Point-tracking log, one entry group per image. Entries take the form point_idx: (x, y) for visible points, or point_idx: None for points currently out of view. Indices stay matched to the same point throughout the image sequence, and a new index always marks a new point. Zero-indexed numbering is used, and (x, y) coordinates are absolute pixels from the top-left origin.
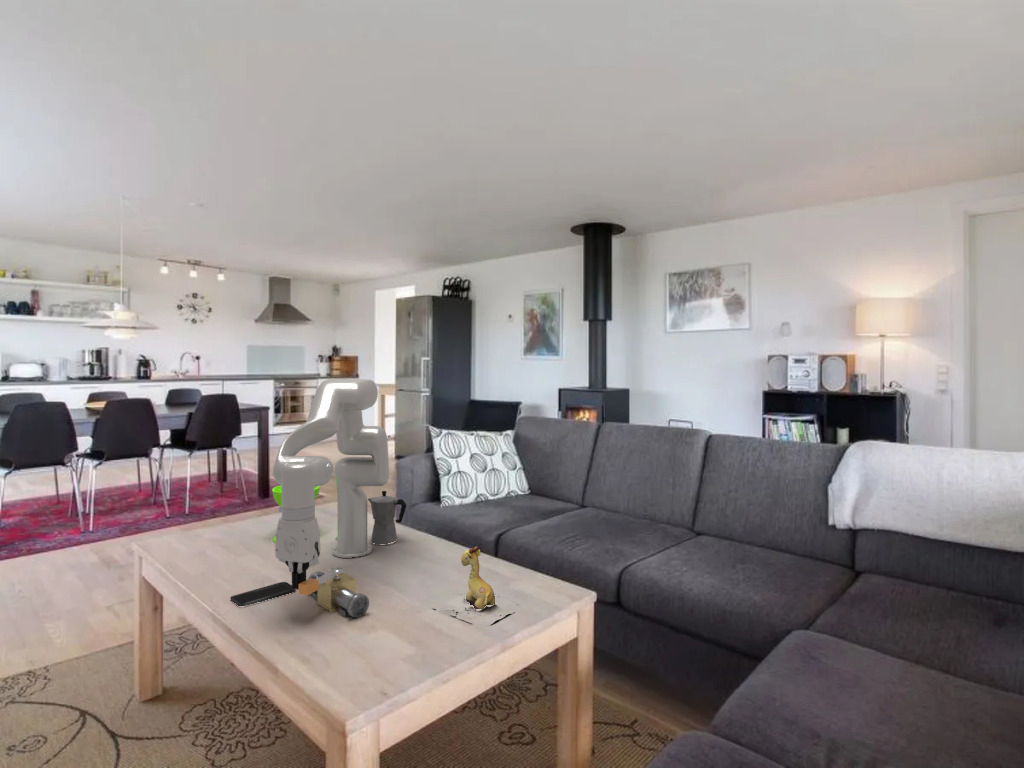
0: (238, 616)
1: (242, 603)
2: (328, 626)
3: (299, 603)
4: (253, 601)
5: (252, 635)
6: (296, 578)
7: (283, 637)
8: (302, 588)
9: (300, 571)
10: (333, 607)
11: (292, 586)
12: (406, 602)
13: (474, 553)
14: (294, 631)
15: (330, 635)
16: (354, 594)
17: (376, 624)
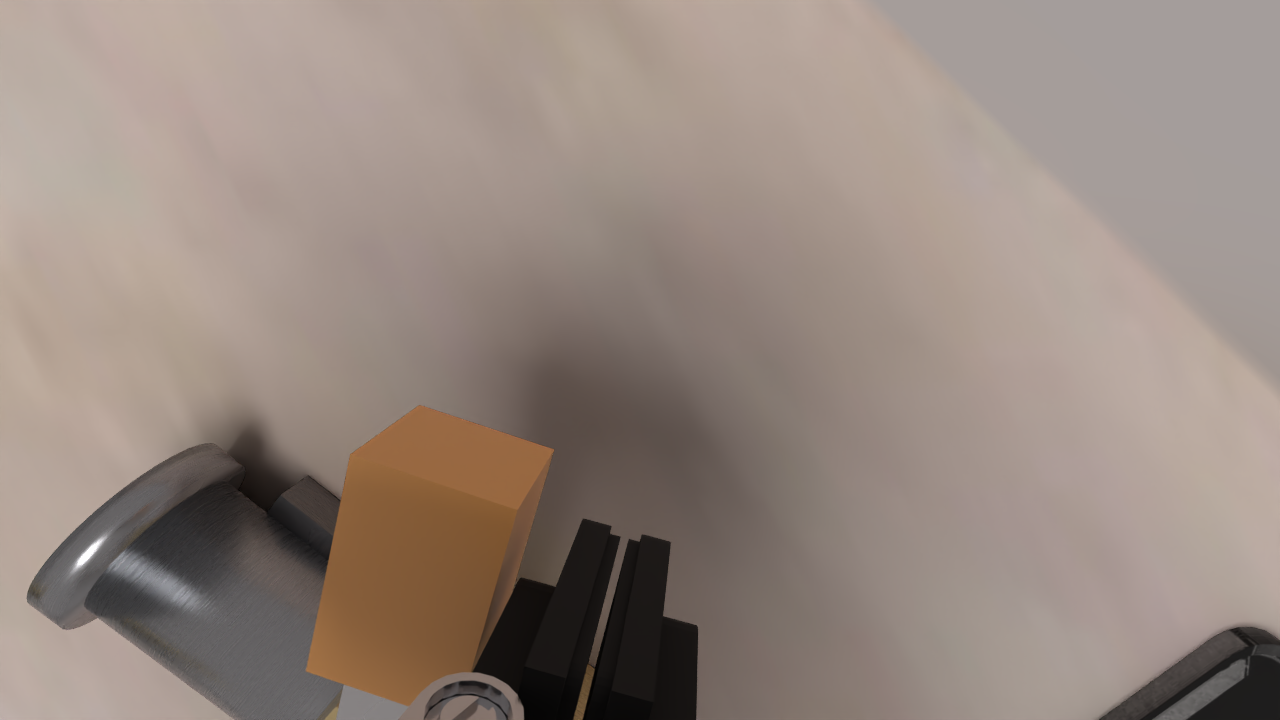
0: (1205, 469)
1: (1264, 674)
2: (360, 327)
3: (763, 696)
4: (1172, 703)
5: (922, 124)
6: (568, 611)
7: (630, 111)
8: (461, 459)
9: (447, 703)
10: None
11: (662, 551)
12: (13, 703)
13: None
14: (587, 226)
15: (273, 179)
16: (137, 624)
17: (38, 377)
